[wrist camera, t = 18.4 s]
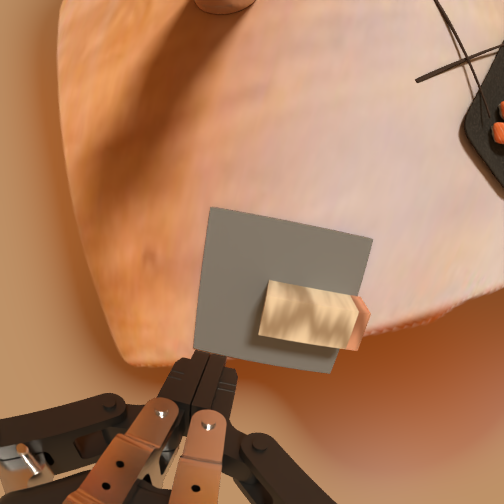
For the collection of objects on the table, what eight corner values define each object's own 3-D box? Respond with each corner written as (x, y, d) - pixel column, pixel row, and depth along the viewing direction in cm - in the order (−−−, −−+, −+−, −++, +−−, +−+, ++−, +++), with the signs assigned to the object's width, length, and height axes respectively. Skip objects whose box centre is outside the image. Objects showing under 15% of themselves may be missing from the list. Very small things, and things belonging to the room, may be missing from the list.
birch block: (266, 295, 31) (370, 313, 30) (269, 279, 36) (360, 297, 35) (258, 334, 32) (357, 350, 32) (261, 315, 37) (349, 330, 36)
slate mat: (211, 206, 35) (210, 207, 34) (371, 238, 34) (372, 239, 33) (194, 345, 40) (193, 348, 39) (329, 371, 39) (330, 373, 38)
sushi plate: (505, 200, 30) (521, 203, 27) (365, 51, 28) (372, 39, 25) (548, 92, 23) (560, 90, 19) (437, -29, 21) (445, -38, 17)
